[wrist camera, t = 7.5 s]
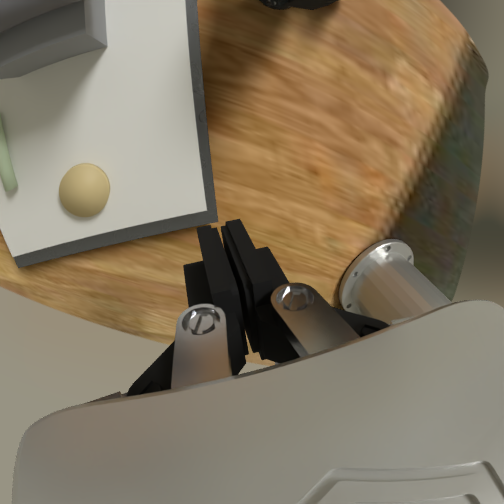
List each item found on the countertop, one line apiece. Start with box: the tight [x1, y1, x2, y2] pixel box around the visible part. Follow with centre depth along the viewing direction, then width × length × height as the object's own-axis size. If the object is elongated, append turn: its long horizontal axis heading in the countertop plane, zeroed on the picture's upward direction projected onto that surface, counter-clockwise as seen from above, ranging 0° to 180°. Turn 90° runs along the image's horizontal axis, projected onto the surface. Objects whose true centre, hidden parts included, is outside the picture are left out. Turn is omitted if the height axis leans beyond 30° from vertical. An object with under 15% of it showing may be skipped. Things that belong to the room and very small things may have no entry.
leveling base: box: [13, 0, 218, 268], centre depth 18 cm, size 26×20×2 cm
